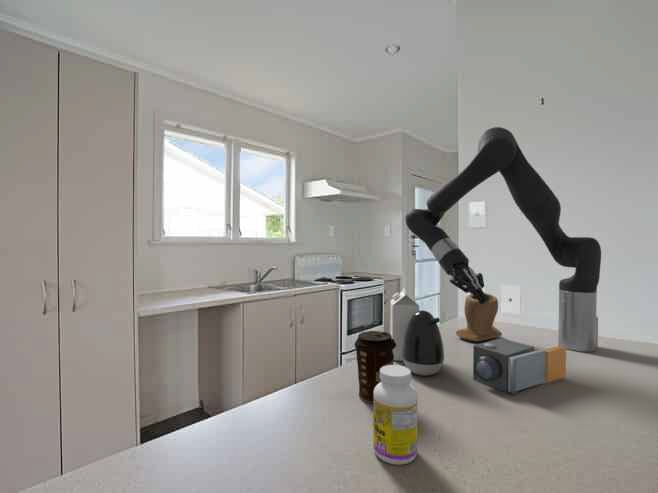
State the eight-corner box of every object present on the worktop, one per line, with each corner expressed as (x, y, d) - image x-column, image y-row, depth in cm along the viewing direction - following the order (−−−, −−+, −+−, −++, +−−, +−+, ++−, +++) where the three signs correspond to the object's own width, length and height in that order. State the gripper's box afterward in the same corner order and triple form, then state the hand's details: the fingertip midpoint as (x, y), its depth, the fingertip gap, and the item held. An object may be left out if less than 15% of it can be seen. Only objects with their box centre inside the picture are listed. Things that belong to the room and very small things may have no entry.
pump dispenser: (421, 383, 78) (422, 317, 78) (393, 368, 88) (393, 308, 87) (454, 375, 83) (454, 312, 83) (423, 361, 92) (424, 305, 92)
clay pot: (480, 347, 105) (480, 298, 105) (450, 337, 115) (450, 292, 115) (513, 340, 112) (513, 294, 111) (482, 331, 122) (482, 289, 122)
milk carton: (415, 353, 99) (415, 287, 99) (419, 361, 92) (419, 291, 92) (390, 352, 100) (390, 286, 100) (392, 361, 93) (392, 290, 93)
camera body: (500, 369, 87) (500, 336, 86) (533, 381, 80) (534, 344, 80) (465, 382, 79) (466, 345, 79) (498, 395, 72) (499, 355, 72)
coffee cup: (399, 391, 74) (399, 331, 74) (393, 409, 66) (393, 342, 66) (359, 386, 77) (359, 328, 77) (349, 402, 69) (349, 338, 69)
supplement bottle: (369, 441, 56) (369, 362, 56) (409, 439, 57) (409, 361, 56) (378, 468, 49) (378, 379, 49) (423, 466, 50) (424, 378, 50)
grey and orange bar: (559, 375, 82) (559, 345, 82) (566, 377, 81) (567, 347, 81) (506, 391, 74) (507, 357, 73) (514, 394, 72) (514, 360, 72)
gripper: (456, 263, 111) (490, 308, 101) (427, 265, 104) (461, 312, 94) (470, 247, 107) (508, 292, 97) (441, 247, 100) (479, 296, 90)
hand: (485, 302), depth 95 cm, fingers closed
